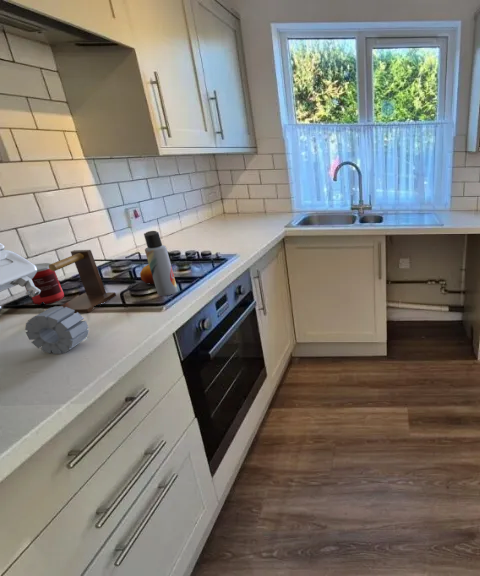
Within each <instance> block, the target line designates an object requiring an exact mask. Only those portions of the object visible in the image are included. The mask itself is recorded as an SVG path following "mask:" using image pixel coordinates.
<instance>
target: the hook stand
mask: <svg viewBox="0 0 480 576" xmlns="http://www.w3.org/2000/svg"><path fill="white" fill-rule="evenodd" d="M70 254H71V256H67V257H64V258H63V259H60V260H58V261H55V262H52V263H50V265H49V269H50V270H52V271H55V272H56V271H58V270H60V269H64V268H66V267H68V266H70V265H73V264H74V265H75V268H76V270H77V273H78V275H79V278H80V281H81V284H82V286H83V288H84V291H85V292H84V293H82V294H80V295H78V296H76V297H74V298H72V299H71V300H69V301H67V302H65V303H63V304H62V305H60V306H63V308H65V307H68V308H70V309H73V310H75V311H74V314H75V313H77V312H78V313H79V314H89V313H91V312H92V311H93V310H92V309H93V307H94V306H96V305H98V304H101V303H104V302H105V303H107V302H109V301H110V300H112V299H113V298H115V297H117V292H113V291H112V292H111V291H110V292H107V291H106V288H105V286H104V282H103V280H102V277H101V275H100V272H99V269H98V266H97V263H96V260H95V258H94V255H93V253H92V250H91V249H74V250H71V251H70ZM105 303H104V304H105Z"/></svg>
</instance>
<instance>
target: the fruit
mask: <svg viewBox="0 0 480 576" xmlns="http://www.w3.org/2000/svg"><path fill="white" fill-rule="evenodd" d="M139 277H140V279H141V281H142V282H144V283H145V284H147V283H150V284H153V285H155V283H154V280H153V276H152V273H151V270H150V266H149V263H148V264H147V265H145V266H144V267H142V269H141V270H140V273H139ZM150 284H149V285H150Z"/></svg>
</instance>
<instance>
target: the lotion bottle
mask: <svg viewBox="0 0 480 576" xmlns="http://www.w3.org/2000/svg"><path fill="white" fill-rule="evenodd" d="M143 237H144V240H145V244H146V248H145V249H144V253H145V256H146V260H147V263H148V264H149V266H150V270H151V273H152V276H153V280H154V283H155V284H154V286H155V289H156V292H157V295H158V296H159V295H161V296H160V297H167V295H168V296H171V294H172V295H174V294H176V293H178V285H177V282H176V278H175V274H174V271H173V268H172V267H173V266H172V262H171V259H170V255H169V252H168V248H167V246H166V245H163V242H162V240H161V236H160V233H159V231H157V230H150V231H146V232H145V233H143Z"/></svg>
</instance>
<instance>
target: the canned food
mask: <svg viewBox="0 0 480 576" xmlns="http://www.w3.org/2000/svg"><path fill="white" fill-rule="evenodd" d="M33 264H34V265H35V266H36V268H37V272H36V274H35V276H34V277H33V278H32V281H33V283H34V285H35V287H37V288H38V289H40V290H41V292H40V294H39V295H37V296H34V297H31V296H30V295H28V297H29V299H30V301H31V303H32V304H34V305H36V304H38V305H37V306H40V304H41V303H42V302H44V303H45V304H44V305H50V304H54V303H56V301H57V302H59V301H61V300H63V299H64V298H63V297H65V293H64V290H63V288H62V286H61V283H60V280H59V278H58V276H57V273H56V271H52V270H50V269H49V265H50V264H51V262H50V263H49V262H41V263H33ZM24 288H25V290H26V292H27V291H28V290H27V289H26V287H25V286H24ZM49 303H50V304H49Z"/></svg>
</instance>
